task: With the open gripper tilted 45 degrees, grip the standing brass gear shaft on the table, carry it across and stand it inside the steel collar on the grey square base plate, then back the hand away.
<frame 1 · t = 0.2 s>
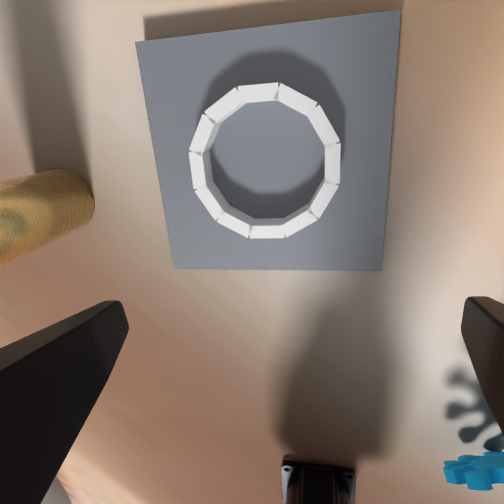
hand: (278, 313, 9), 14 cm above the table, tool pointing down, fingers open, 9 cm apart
brass shaft: (66, 199, 25), on the table
grey square base plate: (268, 160, 22), on the table
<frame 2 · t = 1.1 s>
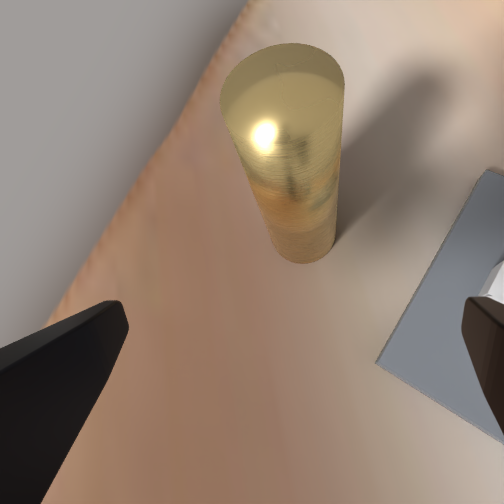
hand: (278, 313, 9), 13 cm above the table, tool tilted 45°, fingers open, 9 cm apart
brass shaft: (303, 233, 24), on the table
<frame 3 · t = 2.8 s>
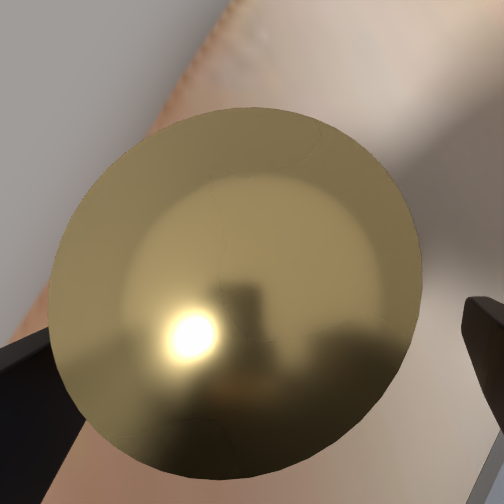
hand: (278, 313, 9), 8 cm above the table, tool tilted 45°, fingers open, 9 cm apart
brass shaft: (299, 352, 16), on the table
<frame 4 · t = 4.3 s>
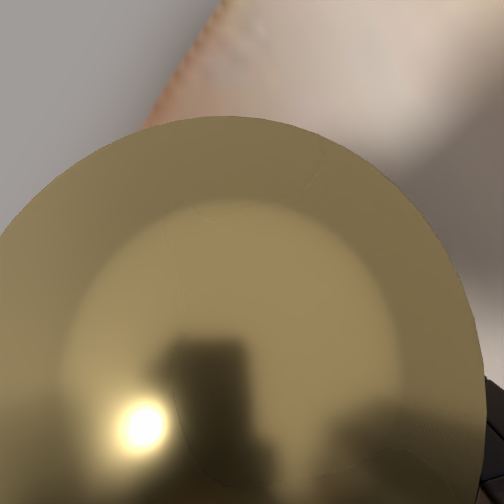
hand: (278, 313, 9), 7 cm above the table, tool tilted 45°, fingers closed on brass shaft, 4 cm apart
brass shaft: (297, 373, 15), on the table, touching gripper
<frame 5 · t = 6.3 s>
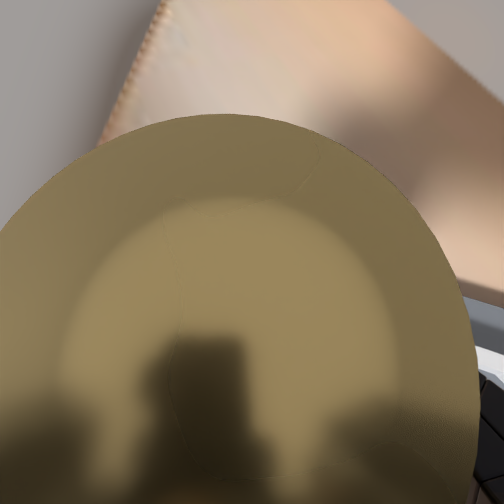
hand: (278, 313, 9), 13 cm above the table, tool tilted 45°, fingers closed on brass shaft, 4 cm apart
brass shaft: (297, 372, 15), point 7 cm above the table, touching gripper
grey square base plate: (453, 430, 19), on the table
when the fingers open (10 cm above the table, at t = 8.7 s): brass shaft drops 2 cm, resting on grey square base plate.
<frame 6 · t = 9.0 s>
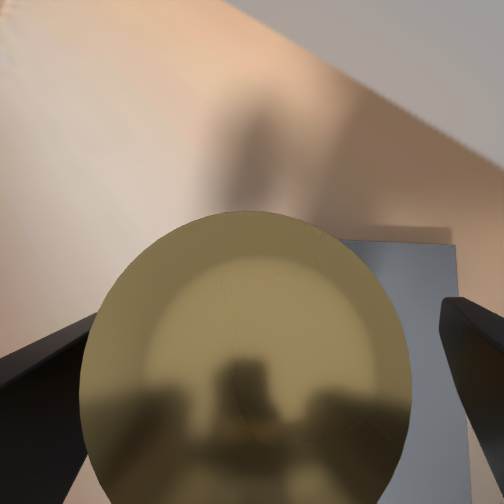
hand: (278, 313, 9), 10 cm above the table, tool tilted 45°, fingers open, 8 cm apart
brass shaft: (300, 375, 16), point 1 cm above the table, touching grey square base plate
grey square base plate: (302, 374, 18), on the table
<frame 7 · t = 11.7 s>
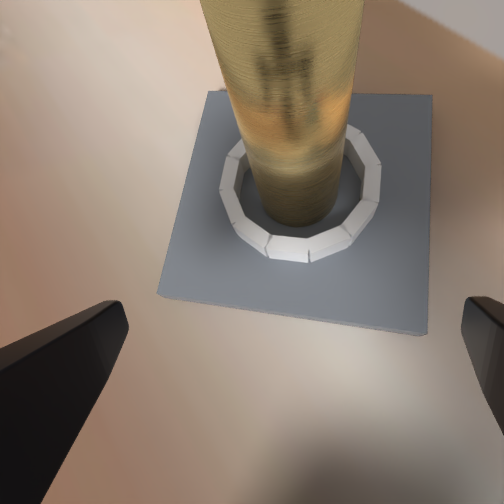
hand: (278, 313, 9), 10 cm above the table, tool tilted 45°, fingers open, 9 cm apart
brass shaft: (298, 191, 20), point 1 cm above the table, touching grey square base plate
grey square base plate: (299, 200, 21), on the table
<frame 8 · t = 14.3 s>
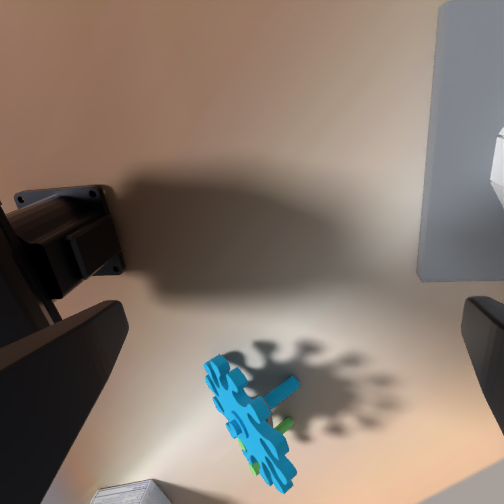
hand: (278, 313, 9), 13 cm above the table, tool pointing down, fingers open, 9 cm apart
medicine box: (136, 492, 38), on the table
gear: (255, 383, 28), on the table
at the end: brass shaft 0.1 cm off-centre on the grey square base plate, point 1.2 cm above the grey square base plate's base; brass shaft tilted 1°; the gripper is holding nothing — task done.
